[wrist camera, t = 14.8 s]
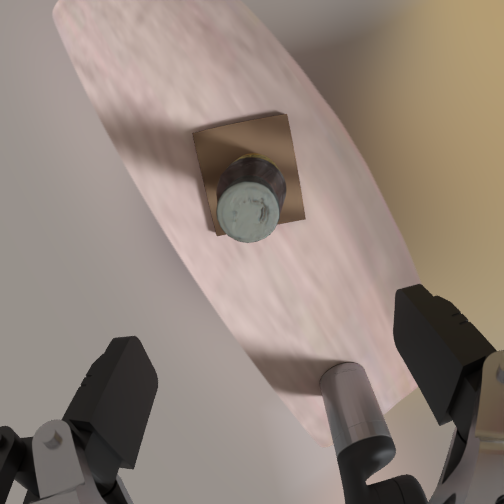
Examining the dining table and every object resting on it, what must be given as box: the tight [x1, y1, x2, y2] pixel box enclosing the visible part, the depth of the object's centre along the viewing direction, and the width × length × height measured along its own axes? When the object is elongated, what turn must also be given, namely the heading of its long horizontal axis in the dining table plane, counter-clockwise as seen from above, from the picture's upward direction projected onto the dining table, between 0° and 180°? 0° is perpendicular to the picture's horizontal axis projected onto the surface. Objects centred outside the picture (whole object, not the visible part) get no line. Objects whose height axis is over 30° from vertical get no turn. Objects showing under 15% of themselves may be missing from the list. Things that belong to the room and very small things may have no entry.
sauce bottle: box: [216, 153, 287, 243], centre depth 28 cm, size 6×6×20 cm
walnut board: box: [192, 114, 305, 236], centre depth 38 cm, size 14×12×1 cm
